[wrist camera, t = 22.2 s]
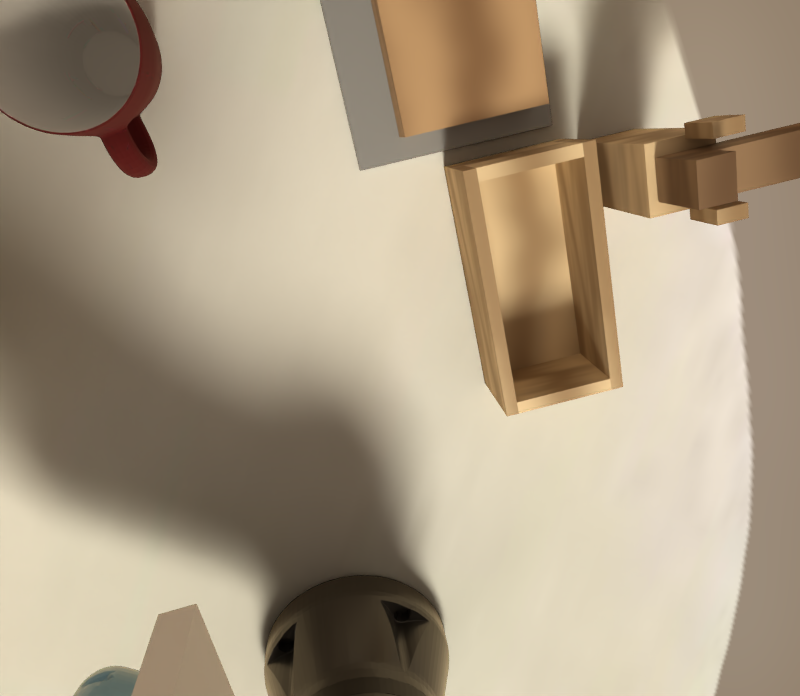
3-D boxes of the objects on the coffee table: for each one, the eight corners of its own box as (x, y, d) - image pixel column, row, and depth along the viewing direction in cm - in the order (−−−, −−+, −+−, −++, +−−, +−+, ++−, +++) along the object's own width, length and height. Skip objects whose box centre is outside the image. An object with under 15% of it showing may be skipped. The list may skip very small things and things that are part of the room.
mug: (233, 134, 40) (206, 134, 31) (122, 195, 41) (63, 213, 31) (134, -38, 37) (71, -97, 27) (15, 30, 37) (-89, -5, 28)
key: (658, 202, 35) (699, 210, 31) (654, 157, 34) (696, 160, 31) (863, 151, 36) (928, 154, 32) (864, 107, 35) (931, 103, 31)
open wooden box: (485, 383, 48) (535, 459, 37) (443, 164, 42) (488, 175, 31) (653, 340, 48) (755, 403, 37) (633, 119, 43) (745, 114, 32)
